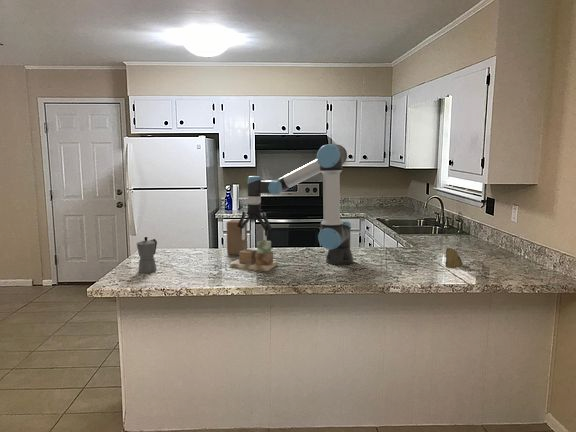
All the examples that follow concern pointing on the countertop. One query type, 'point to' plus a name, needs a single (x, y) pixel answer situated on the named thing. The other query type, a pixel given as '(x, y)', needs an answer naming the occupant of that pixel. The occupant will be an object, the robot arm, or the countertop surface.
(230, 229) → the block
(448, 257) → the rock
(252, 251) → the walnut block
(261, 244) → the tower
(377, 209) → the countertop surface
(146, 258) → the coffeepot
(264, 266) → the blueprint board
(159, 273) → the countertop surface
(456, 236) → the countertop surface
